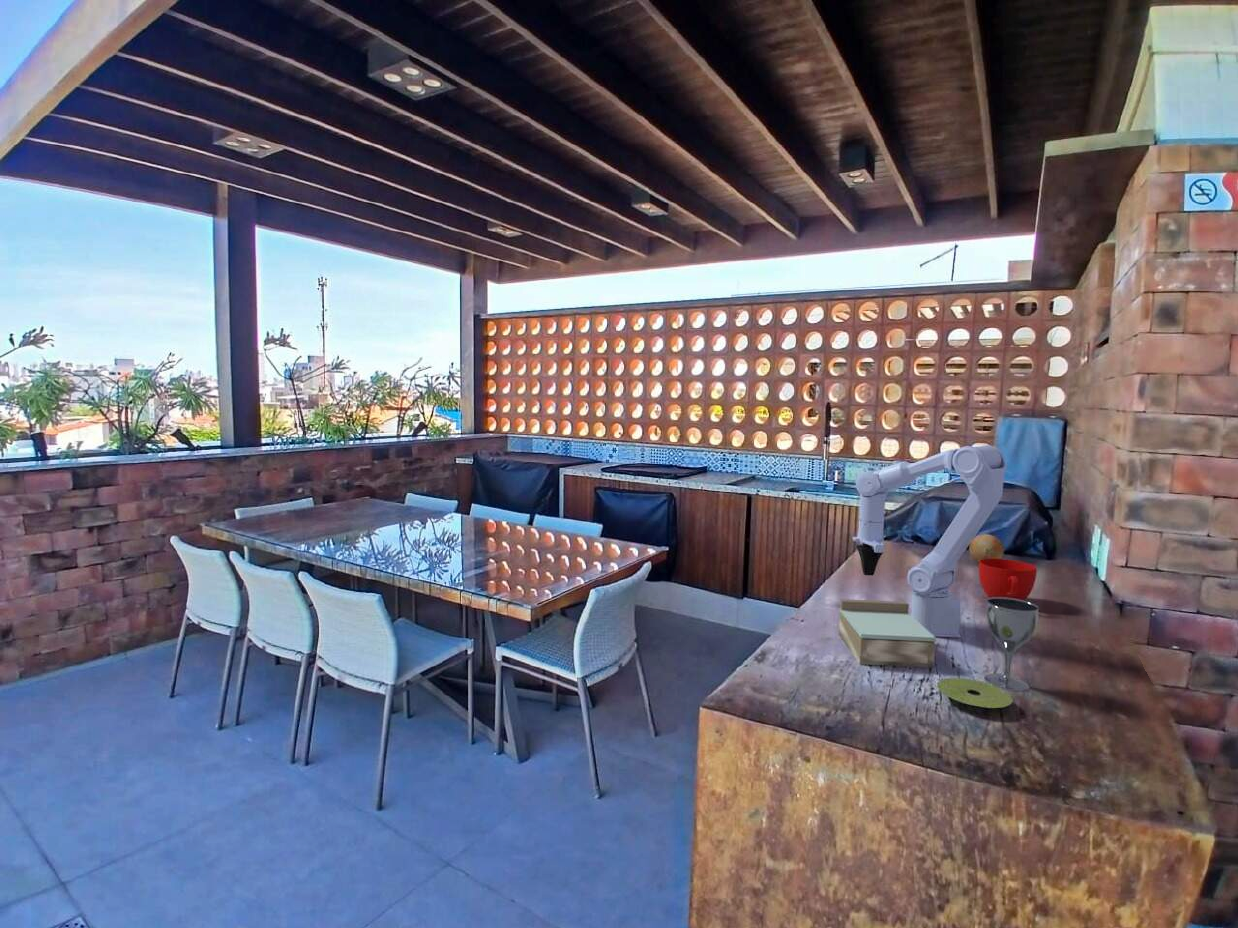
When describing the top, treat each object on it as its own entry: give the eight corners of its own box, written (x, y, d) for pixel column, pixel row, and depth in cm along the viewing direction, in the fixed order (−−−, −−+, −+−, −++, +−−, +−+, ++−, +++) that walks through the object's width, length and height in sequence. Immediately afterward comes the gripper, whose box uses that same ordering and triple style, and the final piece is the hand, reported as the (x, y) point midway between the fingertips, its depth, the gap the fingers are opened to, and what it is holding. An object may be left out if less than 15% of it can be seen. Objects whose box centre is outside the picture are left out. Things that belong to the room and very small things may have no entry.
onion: (975, 567, 198) (977, 536, 197) (963, 559, 208) (965, 530, 207) (1008, 568, 197) (1010, 538, 196) (994, 561, 206) (996, 532, 205)
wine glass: (1016, 695, 109) (1022, 613, 107) (972, 677, 116) (977, 600, 114) (1041, 686, 112) (1047, 607, 111) (997, 670, 119) (1003, 594, 118)
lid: (905, 614, 135) (906, 601, 135) (935, 641, 119) (936, 627, 119) (840, 611, 137) (840, 599, 136) (861, 637, 121) (861, 624, 120)
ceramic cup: (983, 609, 156) (986, 571, 155) (972, 591, 171) (975, 556, 170) (1043, 616, 151) (1047, 577, 150) (1027, 597, 166) (1030, 561, 166)
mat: (981, 723, 99) (982, 712, 98) (921, 693, 109) (922, 683, 109) (1027, 710, 103) (1027, 699, 103) (965, 683, 113) (966, 672, 113)
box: (903, 637, 136) (905, 615, 135) (933, 667, 120) (935, 642, 119) (838, 634, 137) (839, 612, 137) (859, 663, 121) (861, 639, 121)
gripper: (846, 514, 158) (843, 566, 160) (863, 525, 144) (860, 582, 145) (874, 515, 158) (871, 567, 159) (894, 526, 143) (891, 583, 144)
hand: (868, 574), depth 152 cm, fingers closed
